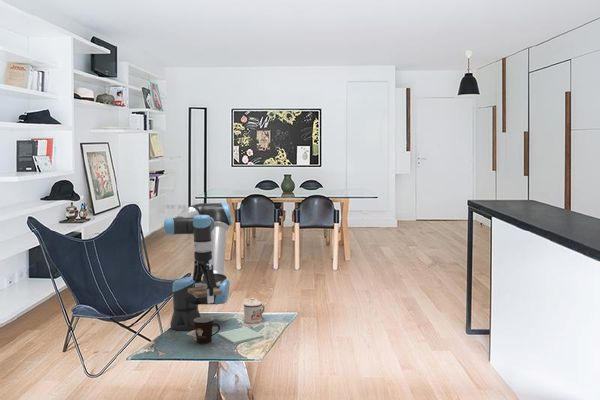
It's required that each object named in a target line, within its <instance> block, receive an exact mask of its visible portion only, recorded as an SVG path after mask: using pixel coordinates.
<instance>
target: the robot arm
mask: <svg viewBox="0 0 600 400" xmlns="http://www.w3.org/2000/svg"><path fill="white" fill-rule="evenodd" d="M232 225H233V218H232V210H231V205H230V204H229V203H228V202H215V203H214V202H213V203H212V202H208V203H207V202H206V203H204V202H201V203H195V204H192V205H189V206H187V207H185V208H184V209H183V210H182V211H181V212H180V214H179V215H177V216H175V217H167V218H166V217H165V218H164V222H163V231H164V233H165V234H166V235H172V236H173V235H193V244H192V246H193V250H194V256H193V257H194V262H193V263H194V267H193V274H192V275H193V276H186V277H182V278H178V279H176V280H174V281H173V283H172V291H171V292H172V302H173V303H172V304H173V306H172V307H173V311H172V315H171V318H170V323H169V324H170V329H171V330H175V331H191V330H195V326H194V319H196V318H199V317H202V315H201V313H200V311H199V305H206V306H207V305H215V306H216V305H223V304H225V303H227V302H228V298H229V294H230V285H231V284H230V280H229V279H228V277H227V275H226V274H224V273H225V256H226V255H225V252H226V250H225V249H226V234H227V233H226V232H227V231H228V230H229V229H230V227H231V226H232ZM206 285H207V286H208V287H207V297H202V298H197V297H195V296H193V295H192V294H190V293H188V289H189V288H195V287H200V286H206ZM215 287H216V288H218V289H220V290H221V292H222V294H218V295H214V289H213V288H215Z"/></svg>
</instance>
